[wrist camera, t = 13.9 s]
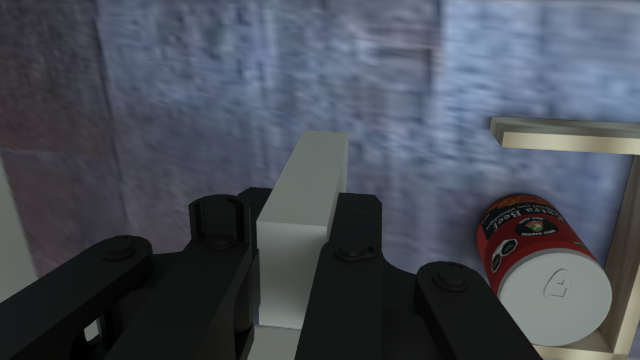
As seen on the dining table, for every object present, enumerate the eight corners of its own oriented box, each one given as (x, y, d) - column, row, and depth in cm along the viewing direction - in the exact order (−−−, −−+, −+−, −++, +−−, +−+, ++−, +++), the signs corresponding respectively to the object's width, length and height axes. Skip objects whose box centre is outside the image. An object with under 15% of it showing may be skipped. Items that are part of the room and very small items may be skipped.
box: (462, 315, 48) (469, 349, 44) (491, 116, 41) (504, 131, 36) (601, 329, 47) (624, 365, 42) (658, 124, 39) (694, 141, 35)
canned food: (561, 186, 42) (614, 247, 32) (563, 265, 45) (612, 344, 35) (471, 196, 44) (494, 257, 34) (477, 272, 46) (501, 350, 36)
